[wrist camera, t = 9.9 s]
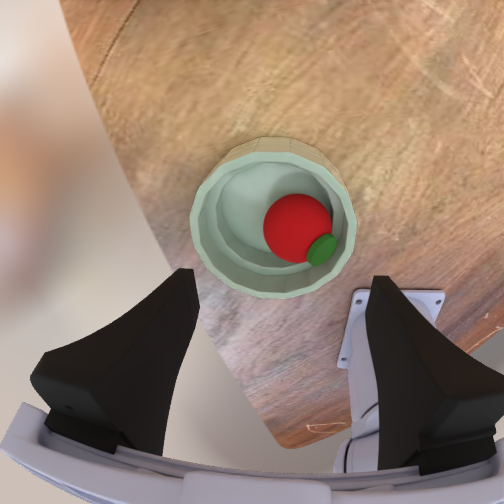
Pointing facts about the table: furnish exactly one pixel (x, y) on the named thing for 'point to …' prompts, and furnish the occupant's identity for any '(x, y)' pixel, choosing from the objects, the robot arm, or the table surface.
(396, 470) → the robot arm
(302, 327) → the table surface
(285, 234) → the tomato
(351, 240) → the bowl
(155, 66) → the table surface
